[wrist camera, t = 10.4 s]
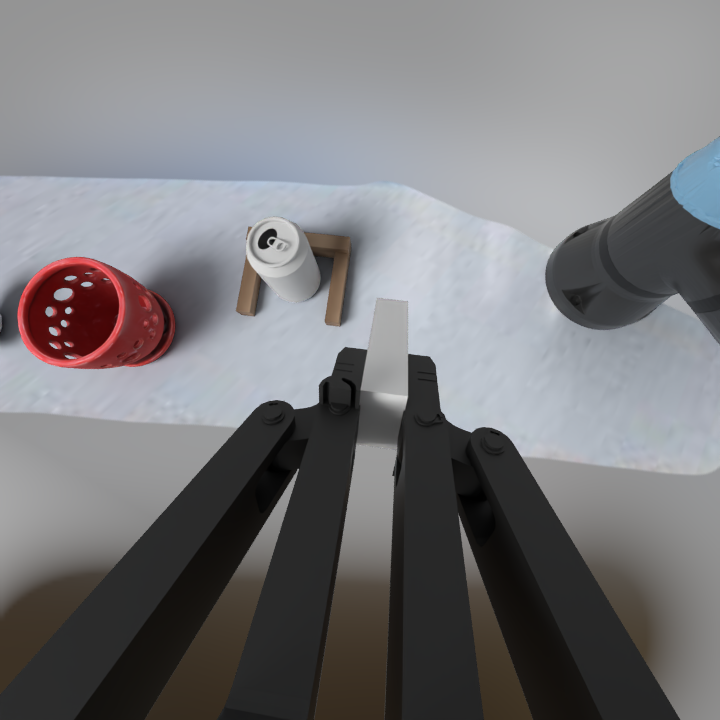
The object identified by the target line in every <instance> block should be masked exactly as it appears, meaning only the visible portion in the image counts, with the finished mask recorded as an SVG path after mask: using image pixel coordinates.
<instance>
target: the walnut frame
mask: <svg viewBox="0 0 720 720" xmlns="http://www.w3.org/2000/svg"><path fill="white" fill-rule="evenodd" d="M251 229H252V227H248V232H247V237H248V234H249V232H250V230H251ZM304 234H305V236H306V237H307V240H308V242H309V245H310V247H311V250H312V252H313V255H314V256H321V257H330V258H334V263H333V269H332V276H331V283H330V289H329V296H328V303H327V310H326V316H325V323H326V325H332V326H340V323H341V316H342V309H343V302H344V295H345V288H346V281H347V274H348V267H349V260H350V253H351V241H350V237H345V236H335V235H325V234H315V233H306V232H304ZM247 237H246V240H247ZM260 283H261V276H260V275H259V274H258V273H257V272H256V271H255V270H254V269H253V267H252V266H251V264H250V262H249V260H248V259H247V255H246V260H245V266H244V271H243V276H242V281H241V287H240V292H239V297H238V303H237V308H236V311H237V312H238V313H240V314H241V315H248V316H255V311H256V306H257V300H258V294H259V289H260Z"/></svg>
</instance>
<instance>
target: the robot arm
mask: <svg viewBox="0 0 720 720" xmlns="http://www.w3.org/2000/svg"><path fill="white" fill-rule="evenodd" d="M546 285H547V289H548V293H549V295H550V297H551V299H552V301H553V303H554V304H555V306H556V307H557V308H558V309H559V310H560V311H561V312H562V313H563V314H564V315H565V316H566V317H567V318H569V319H570V320H572V321H573V322H575V323H577V324H579V325H581V326H584V327H587V328H591V329H597V330H610V329H616V328H620V327H623V326H626V325H629V324H632V323H635V322H637V321H639V320H641V319H643V318H645V317H646V316H648V315H649V314H650V313H651V312H652V311H653V310H654V309H656V307H657V306H659V305H660V304H661V303H663V302H664V301H665V300H667V299H668V298H669V297H670V296H672V295H675V294H677V293H679V294H680V295H681V296H682V297H683V299H684V300H685V301H686V302H687V304H688V305H689V306H690V307H691V309H692V310H693V311H694V312H695V314H696V315H697V316H698V318H699V319H700V320H701V321H702V323H703V324H704V325H705V327H706V328H707V329H708V330H709V332H710V333H711V334H712V336H713V337H714V338H715V339H716V341H717V342H718V343H719V344H720V136H719V137H718V138H716V139H715V140H714V141H712V142H711V143H710V144H708V145H707V146H705V147H704V148H702V149H700V150H698V151H696V152H694V153H692V154H691V155H689V156H688V157H686V158H685V159H684V160H683V161H682V162H680V163H679V164H678V166H677V168H676V169H675V170H674V171H673V172H671V173H670V174H669V175H667V176H666V177H665V178H663V179H662V180H661V181H660V182H658V183H657V184H656V185H655V186H653V187H652V188H651V189H649V190H648V191H647V192H645V193H644V194H643V195H641V196H640V197H639V198H638V199H636V200H635V201H633V202H632V203H631V204H629V205H628V206H627V207H626V208H624V209H623V210H622V211H620V212H619V213H618V214H617V215H615V216H613V217H610V218H607V219H605V220H602V221H599V222H596V223H593V224H590V225H587V226H585V227H582V228H580V229H578V230H577V231H575V232H573V233H572V234H571V235H569V236H568V237H567V238H566V239H564V240H563V241H562V242H561V243H560V244H559V245H558V246H557V247H556V248H555V249H554V251H553V252H552V254H551V256H550V258H549V260H548V263H547V267H546ZM356 445H363V446H370V447H378V448H385V449H392V450H396V449H397V457H396V462H395V466H394V471H393V476H395V478H394V502H393V503H394V504H393V526H392V551H391V575H390V600H389V623H388V647H387V671H386V695H385V720H484V717H483V709H482V701H481V694H480V687H479V686H480V685H479V678H478V669H477V662H476V653H475V645H474V637H473V630H472V621H471V613H470V606H469V597H468V589H467V581H466V573H465V565H464V557H463V549H462V541H461V533H460V525H459V517H458V514H459V516H460V519H461V522H462V524H463V527H464V530H465V533H466V536H467V538H468V541H469V544H470V546H471V549H472V552H473V555H474V557H475V560H476V563H477V566H478V569H479V571H480V574H481V577H482V580H483V583H484V585H485V588H486V591H487V594H488V596H489V599H490V602H491V605H492V607H493V610H494V613H495V616H496V618H497V621H498V624H499V627H500V629H501V632H502V635H503V638H504V640H505V643H506V646H507V649H508V651H509V654H510V657H511V660H512V663H513V665H514V668H515V671H516V673H517V676H518V679H519V682H520V684H521V687H522V690H523V693H524V696H525V698H526V701H527V704H528V707H529V709H530V712H531V715H532V718H533V720H680V718H679V717H678V715H677V714H676V712H675V710H674V709H673V707H672V705H671V704H670V702H669V700H668V699H667V697H666V695H665V694H664V692H663V690H662V689H661V687H660V685H659V684H658V682H657V681H656V679H655V677H654V676H653V674H652V672H651V671H650V669H649V667H648V666H647V664H646V662H645V661H644V659H643V657H642V656H641V654H640V652H639V651H638V649H637V648H636V646H635V644H634V643H633V641H632V639H631V638H630V636H629V634H628V633H627V631H626V629H625V628H624V626H623V624H622V623H621V621H620V619H619V618H618V616H617V614H616V613H615V611H614V610H613V608H612V606H611V604H610V603H609V601H608V600H607V598H606V596H605V595H604V593H603V591H602V590H601V588H600V586H599V585H598V583H597V581H596V580H595V578H594V576H593V575H592V573H591V571H590V570H589V568H588V567H587V565H586V563H585V562H584V560H583V558H582V556H581V555H580V553H579V552H578V550H577V548H576V547H575V545H574V543H573V542H572V540H571V538H570V537H569V535H568V533H567V532H566V530H565V528H564V527H563V525H562V523H561V522H560V520H559V519H558V517H557V515H556V513H555V512H554V510H553V509H552V507H551V505H550V504H549V502H548V500H547V499H546V497H545V495H544V494H543V492H542V490H541V489H540V487H539V486H538V484H537V482H536V480H535V479H534V477H533V476H532V474H531V472H530V470H529V469H528V467H527V466H526V464H525V462H524V461H523V459H522V457H521V456H520V454H519V452H518V451H517V449H516V447H515V446H514V444H513V443H512V441H511V440H510V439H509V438H508V437H507V436H506V435H505V434H503V433H502V432H500V431H498V430H495V429H493V428H486V427H482V428H478V429H476V430H475V431H473V432H472V433H470V432H468V431H465V430H463V429H460V428H458V427H456V426H454V425H452V424H451V423H450V422H448V421H447V420H446V418H445V415H444V414H443V413H442V412H441V409H440V401H439V392H438V384H437V375H436V366H435V364H434V362H433V361H432V359H431V358H430V357H428V356H420V355H412V354H408V301H401V300H392V299H383V298H377V300H376V305H375V311H374V317H373V322H372V328H371V334H370V339H369V345H368V350H364V349H356V348H348V347H345V348H344V349H343V350H342V351H341V352H340V353H338V356H337V359H336V364H335V366H334V370H333V373H332V376H329V377H327V378H325V379H324V380H322V382H321V383H320V385H319V403H318V404H317V405H315V406H312V407H308V408H303V409H295V410H294V409H293V407H292V406H291V405H290V404H288V403H286V402H285V401H279V400H275V401H268V402H266V403H263V404H261V405H260V406H259V407H257V408H256V409H255V410H254V411H253V412H252V413H251V415H250V416H249V417H248V418H247V419H246V420H245V421H244V422H243V424H242V425H241V426H240V427H239V428H238V429H237V430H236V431H235V432H234V434H233V435H232V436H231V437H230V438H229V439H228V440H227V442H226V443H225V444H224V445H223V446H222V447H221V448H220V449H219V450H218V451H217V453H216V454H215V455H214V456H213V457H212V458H211V459H210V461H209V462H208V463H207V464H206V465H205V466H204V467H203V468H202V469H201V471H200V472H199V473H198V474H197V475H196V476H195V477H194V478H193V479H192V481H191V482H190V483H189V484H188V485H187V486H186V487H185V488H184V490H183V491H182V492H181V493H180V494H179V495H178V496H177V497H176V498H175V500H174V501H173V502H172V503H171V504H170V505H169V506H168V507H167V509H166V510H165V511H164V512H163V513H162V514H161V515H160V516H159V517H158V519H157V520H156V521H155V522H154V523H153V524H152V525H151V527H150V528H149V529H148V530H147V531H146V532H145V533H144V534H143V536H142V537H141V538H140V539H139V540H138V541H137V542H136V543H135V544H134V546H133V547H132V548H131V549H130V550H129V551H128V552H127V553H126V554H125V555H124V557H123V558H122V559H121V560H120V561H119V562H118V564H116V566H115V567H114V568H113V569H112V570H111V571H110V572H109V573H108V575H107V576H106V577H105V578H104V579H103V580H102V581H101V582H100V584H99V585H98V586H97V587H96V588H95V589H94V590H93V591H92V593H91V594H90V595H89V596H88V597H87V598H86V599H85V600H84V601H83V602H82V604H81V605H80V606H79V607H78V608H77V609H76V611H74V613H73V614H72V615H71V616H70V617H69V618H68V619H67V620H66V621H65V623H64V624H63V625H62V626H61V627H60V628H59V629H58V630H57V632H56V633H55V634H54V635H53V636H52V637H51V638H50V639H49V641H48V642H47V643H46V644H45V645H44V646H43V647H42V648H41V649H40V651H39V652H38V653H37V654H36V655H35V656H34V657H33V658H32V660H31V661H30V662H29V663H28V664H27V665H26V666H25V668H23V670H22V671H21V672H20V673H19V674H18V675H17V676H16V677H15V679H14V680H13V681H12V682H11V683H10V684H9V685H8V686H7V688H6V689H5V690H4V691H3V692H2V693H1V694H0V720H145V718H146V717H147V715H148V713H149V712H150V710H151V708H152V707H153V705H154V703H155V702H156V700H157V699H158V697H159V695H160V694H161V692H162V690H163V689H164V687H165V685H166V684H167V682H168V681H169V679H170V677H171V676H172V674H173V672H174V671H175V669H176V668H177V666H178V664H179V662H180V661H181V659H182V658H183V656H184V654H185V653H186V651H187V650H188V648H189V646H190V645H191V643H192V641H193V640H194V638H195V636H196V635H197V633H198V631H199V630H200V628H201V627H202V625H203V623H204V622H205V620H206V618H207V617H208V615H209V614H210V612H211V610H212V609H213V607H214V605H215V604H216V602H217V600H218V599H219V597H220V596H221V594H222V592H223V591H224V589H225V587H226V586H227V584H228V583H229V581H230V579H231V578H232V576H233V574H234V573H235V571H236V569H237V568H238V566H239V565H240V563H241V561H242V559H243V558H244V556H245V555H246V553H247V551H248V550H249V548H250V546H251V545H252V543H253V542H254V540H255V538H256V537H257V535H258V533H259V532H260V530H261V529H262V527H263V525H264V524H265V522H266V520H267V519H268V517H269V516H270V514H271V512H272V510H273V509H274V507H275V505H276V504H277V502H278V500H279V499H280V497H281V496H282V494H283V493H284V491H285V489H286V488H287V486H288V484H289V483H290V481H291V480H292V478H293V476H294V474H295V473H296V471H297V469H299V472H298V475H297V479H296V481H295V485H294V488H293V491H292V494H291V497H290V501H289V504H288V507H287V511H286V514H285V517H284V520H283V523H282V527H281V530H280V533H279V536H278V540H277V543H276V546H275V549H274V553H273V556H272V559H271V562H270V566H269V569H268V572H267V575H266V579H265V582H264V585H263V588H262V591H261V595H260V598H259V601H258V604H257V608H256V611H255V614H254V617H253V620H252V624H251V627H250V631H249V634H248V637H247V640H246V643H245V646H244V650H243V653H242V656H241V660H240V663H239V666H238V669H237V672H236V675H235V679H234V682H233V685H232V688H231V691H230V694H229V697H228V700H227V702H226V704H225V707H224V709H223V710H222V712H221V714H220V715H219V717H218V719H217V720H314V716H315V710H316V703H317V697H318V691H319V684H320V677H321V671H322V664H323V658H324V652H325V646H326V639H327V632H328V626H329V620H330V613H331V607H332V600H333V594H334V588H335V581H336V575H337V568H338V562H339V555H340V549H341V542H342V536H343V529H344V523H345V517H346V510H347V504H348V497H349V491H350V484H351V478H352V471H353V465H354V459H355V449H356Z"/></svg>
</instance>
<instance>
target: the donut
mask: <svg viewBox="0 0 720 720" xmlns="http://www.w3.org/2000/svg"><path fill="white" fill-rule="evenodd" d="M1 329H2V317H1V314H0V332H1Z"/></svg>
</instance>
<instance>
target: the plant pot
mask: <svg viewBox="0 0 720 720" xmlns="http://www.w3.org/2000/svg"><path fill="white" fill-rule="evenodd" d="M88 272H89V273H93V274H85V273H88ZM67 276H76V277H77V278H76V279H74V280H70V281H68V280H65V277H67ZM103 278H106V279H109V280H104V279H103ZM83 282H91V283H93V285H92V286H89V287H84V286H81V284H82V283H83ZM61 288H70V289H72V291H73V293H72V295H71V296H70V297H69V298H68V299H66V300H63V301H59V300H56V299H55V298H54V293H55V291H56V290H58V289H61ZM47 307H52V309H53V315H52V316H51V317H48V316H47V315H46V313H45V311H46V308H47ZM67 307H70V308H71V309H72V311H71V313H70V314H66V313H65V309H66V308H67ZM62 320H65V321H66V322H67V327H63V326H62V325H61V321H62ZM18 326H19V331H20V334H21V337H22V340H23V342H24V344H25V345H26V347H27V348H28V349H29V350H30V352H31V353H32V354H34V355H35V356H36V357H37V358H39V359H40V360H42V361H44V362H46V363H48V364H51V365H54V366H59V367H66V368H79V369H104V368H114V367H120V366H129V367H135V366H142V365H146V364H149V363H151V362H153V361H155V360H156V359H158V358H159V357H160V356H161V355H162V354H164V352H165V351H166V350H167V349H168V347H169V346H170V344H171V342H172V340H173V337H174V333H175V318H174V314H173V311H172V309H171V307H170V306H169V304H168V303H167V302H166V300H165V299H164V298H162V297H161V296H160V295H159V294H157V293H155V292H153V291H151V290H148V289H146V288H145V287H144V286H143V285H141V284H140V283H139V282H137V281H136V280H134V279H133V278H132V277H130V276H129V275H127V274H125V273H123V272H121V271H120V270H118V269H116V268H114V267H112V266H110V265H107V264H105V263H103V262H100V261H97V260H94V259H90V258H85V257H71V258H65V259H61V260H58V261H55V262H53V263H51V264H49V265H47V266H46V267H44V268H43V269H41V270H40V271H39V272H38V273H37V274H36V275H35V276H34V277H33V278H32V279H31V280H30V282H29V283H28V284H27V286H26V288H25V289H24V291H23V294H22V296H21V299H20V302H19V307H18ZM49 327H53V328H55V329H56V330H57V333H58V335H57V336H54V335H52V334H51V333H50V332H49ZM64 342H66V343H68V344H70V346H71V347H68V346H66V345H65V343H64ZM49 343H52V344H54V345H55V346H57V348H58V349H55V348H53V347H52V346H51V345H50V344H49ZM65 355H69V356H73V357H75V358H77V359H68V358H66V357H65Z"/></svg>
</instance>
